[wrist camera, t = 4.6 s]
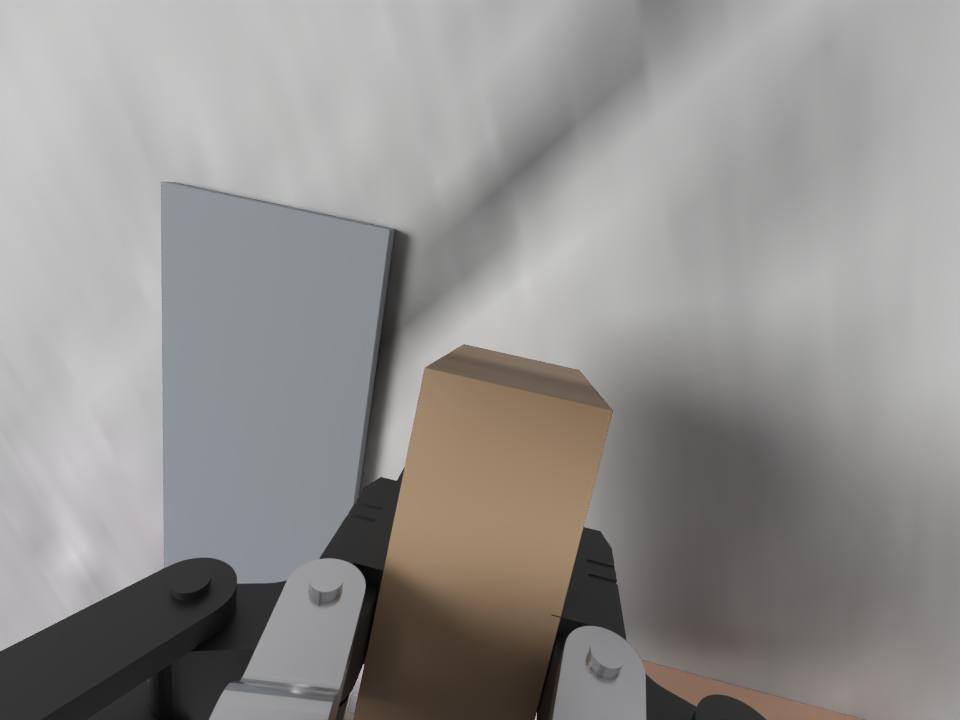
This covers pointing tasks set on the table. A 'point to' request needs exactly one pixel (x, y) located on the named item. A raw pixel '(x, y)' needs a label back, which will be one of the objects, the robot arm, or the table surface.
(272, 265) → the mat
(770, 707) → the tile
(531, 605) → the upright plank on base
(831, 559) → the table surface
